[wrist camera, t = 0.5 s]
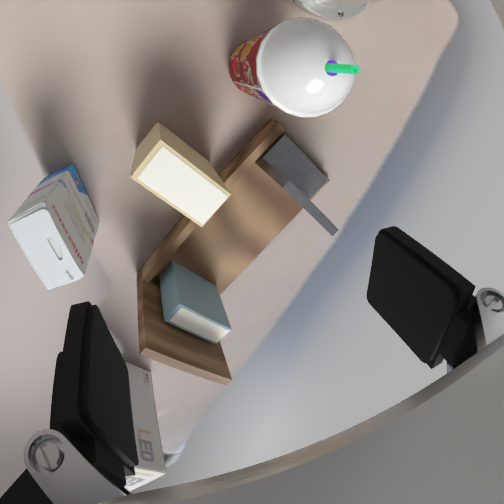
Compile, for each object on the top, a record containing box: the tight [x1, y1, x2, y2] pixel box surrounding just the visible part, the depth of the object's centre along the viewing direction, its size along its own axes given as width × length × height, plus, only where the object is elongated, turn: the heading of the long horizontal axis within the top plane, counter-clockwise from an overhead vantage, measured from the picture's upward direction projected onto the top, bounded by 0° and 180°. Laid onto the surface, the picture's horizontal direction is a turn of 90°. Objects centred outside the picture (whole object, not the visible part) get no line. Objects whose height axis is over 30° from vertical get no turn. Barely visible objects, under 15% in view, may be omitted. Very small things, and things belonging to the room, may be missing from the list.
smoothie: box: [229, 17, 359, 117], centre depth 24 cm, size 8×8×20 cm
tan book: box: [130, 122, 231, 227], centre depth 31 cm, size 4×8×11 cm, turn 45°
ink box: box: [8, 164, 100, 291], centre depth 29 cm, size 8×5×12 cm, turn 12°
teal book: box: [159, 260, 232, 344], centre depth 40 cm, size 3×8×9 cm, turn 45°
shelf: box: [137, 119, 329, 385], centre depth 36 cm, size 27×12×15 cm, turn 135°
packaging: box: [125, 361, 166, 491], centre depth 46 cm, size 30×6×20 cm, turn 133°
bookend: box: [255, 133, 338, 236], centre depth 36 cm, size 5×9×9 cm, turn 45°
